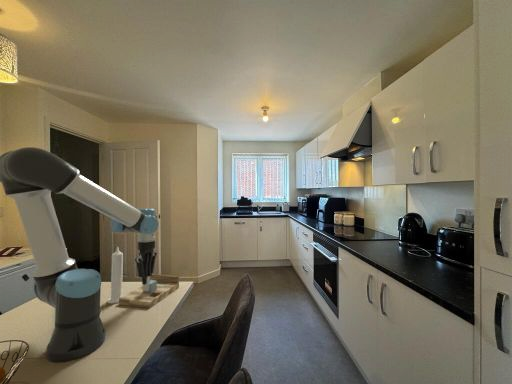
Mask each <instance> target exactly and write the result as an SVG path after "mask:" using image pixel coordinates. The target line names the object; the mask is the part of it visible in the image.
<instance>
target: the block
mask: <svg viewBox="0 0 512 384" xmlns="http://www.w3.org/2000/svg"><path fill="white" fill-rule="evenodd" d="M156 290H157V281H155V280H152V279H150V288H149V290H148V291H143V293H152V292H154V291H156Z"/></svg>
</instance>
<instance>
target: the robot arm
mask: <svg viewBox="0 0 512 384" xmlns="http://www.w3.org/2000/svg"><path fill="white" fill-rule="evenodd" d="M0 183H1V185H2V188H3V190H4V193H5V194H4V195H5V196H6V197H7V198H10V199H13V200H14V202H15V204H16V208H17V212H18V214H19V217H20V220H21V222H22V226H23V230H24V232H25V235H26V239H27V241H28V245H29V247H30V250H31V254H32V257H33V259H34V262H35V266H36V268H35V270H34V271H33V273H32V276H33V281H34V283H33V293H34V295H35V296H36V299H38V300H39V301H41V302H43V303H46V304H47V305H49V306H50V307H51V308H52V307H53V308H54V310H55V311H54V327H53V328H54V329H53V331H52V335H51V337H50V339H49V342H48V343H47V346H46V349H45V351H46V352H45V357H46V359H47V360H48V361H50V362H54V363H55V362H56V363H57V362H60V363H61V362H68V361H72V360H76V359H79V358H82V357H84V356H87V355H89V354H90V353H93V352H94V351H96V350H97V349H98V348H100V347H101V346H102V345H103V344H104V342H105V341H106V329H105V328H104V324H103V321H102V319H101V316H100V315H101V312H100V311H101V293H102V291H101V290H102V289H101V287H102V280H101V278H102V277H101V274H100V272H98V271H97V270H95V269H92V268H88V269H87V268H79V267H78V265H77V262H76V259H74V258H71V257H69V253H68V250H67V247H66V244H65V243H66V242H65V240H64V237H63V233H62V230H61V226H60V223H59V220H58V217H57V214H56V209H55V207H54V203H53V199H52V196H51V192H52V193H54V194H57V195H58V194H64V195H65V196H68V197H70V198H71V199H74V200H75V201H77V202H79V203H81V204H82V205H85V206H86V207H88V208H91V209H93V210H94V211H97V212H98V213H101V214H102V215H104V216H106V217H109V218H110V221H109V222H110V223H109V224H110V225H109V227H110V229H111V231H112V232H114V233H122V232H129V233H137V241H138V242H137V250H138V251H139V253H138V257H135V259H134V261H135V263H136V268H137V269H136V270H137V274H138V278H141V284H142V286H143V288H142V291H148V290H149V288H150V280H151V277H152V274H154V270H155V263H156V258H157V254H158V252H155V251H154V250H155V248H156V232H157V230H158V229H159V224H160V221H159V219H158V218H157V217H156V210H155V209H154V208H139V209H138V208H135V206H133V205H131V204H130V203H128V202H126V201H125V200H123V199H121V198H120V197H118V196H117V195H114V194H113V193H111V192H109V191H108V190H106V189H105V188H104V187H101V186H100V185H98V184H97V183H94V182H93V181H92V180H90V179H88V178H87V177H85V176H83V175H82V174H80V170H79V169H78V168H77V167H75V166H74V165H72V164H71V163H69V162H67V161H65V160H64V159H62V158H60V157H59V156H58V155H56V154H54V153H52V152H50V151H48V150H46V149H44V148H43V149H42V148H39V147H35V146H34V147H32V146H30V147H29V146H28V147H26V146H25V147H20V148H18V149H14V150H10V151H8V152H4V153H3V154H2V155H1V154H0Z"/></svg>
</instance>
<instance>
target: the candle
mask: <svg viewBox="0 0 512 384" xmlns="http://www.w3.org/2000/svg"><path fill="white" fill-rule="evenodd" d="M123 265H124V253H123V252H121V251H120V248H119V246H117V247H116V249H115V252H113V253H112V254H111V272H110V273H111V276H110V277H111V278H110V279H111V280H110V283H111V284H110V285H111V286H110V297H109V298H108V299H107V303H108V304H110V305H111V304H112V305H113V304H119V298H121V297H123V296H124V295H123V275H124V274H123V270H124V269H123V267H124V266H123Z"/></svg>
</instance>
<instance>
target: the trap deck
mask: <svg viewBox="0 0 512 384" xmlns="http://www.w3.org/2000/svg"><path fill="white" fill-rule="evenodd" d="M151 274H152V276H151V280H155V281H157V290H156V291H154V292H152V293H143V291H142V288H143V285H142V286H140V287H138V288H136V289H134V290H132V291H130V292H129V293H127V294H125V295H122V296H123V297H121V298H119V303H118V305H120V306H121V305H123V306H129V307H138V308H146V309H151V308H152V307H153V306H155V305H157V304H158V303H159V302H161V301H162V300H163V299H165V298H166V297H168V296H169V295H171V294H172V293H173V292H174V291H176V290H177V289H179V288H180V276H179V275H169V274H168V275H166V274H154V273H151Z"/></svg>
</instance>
